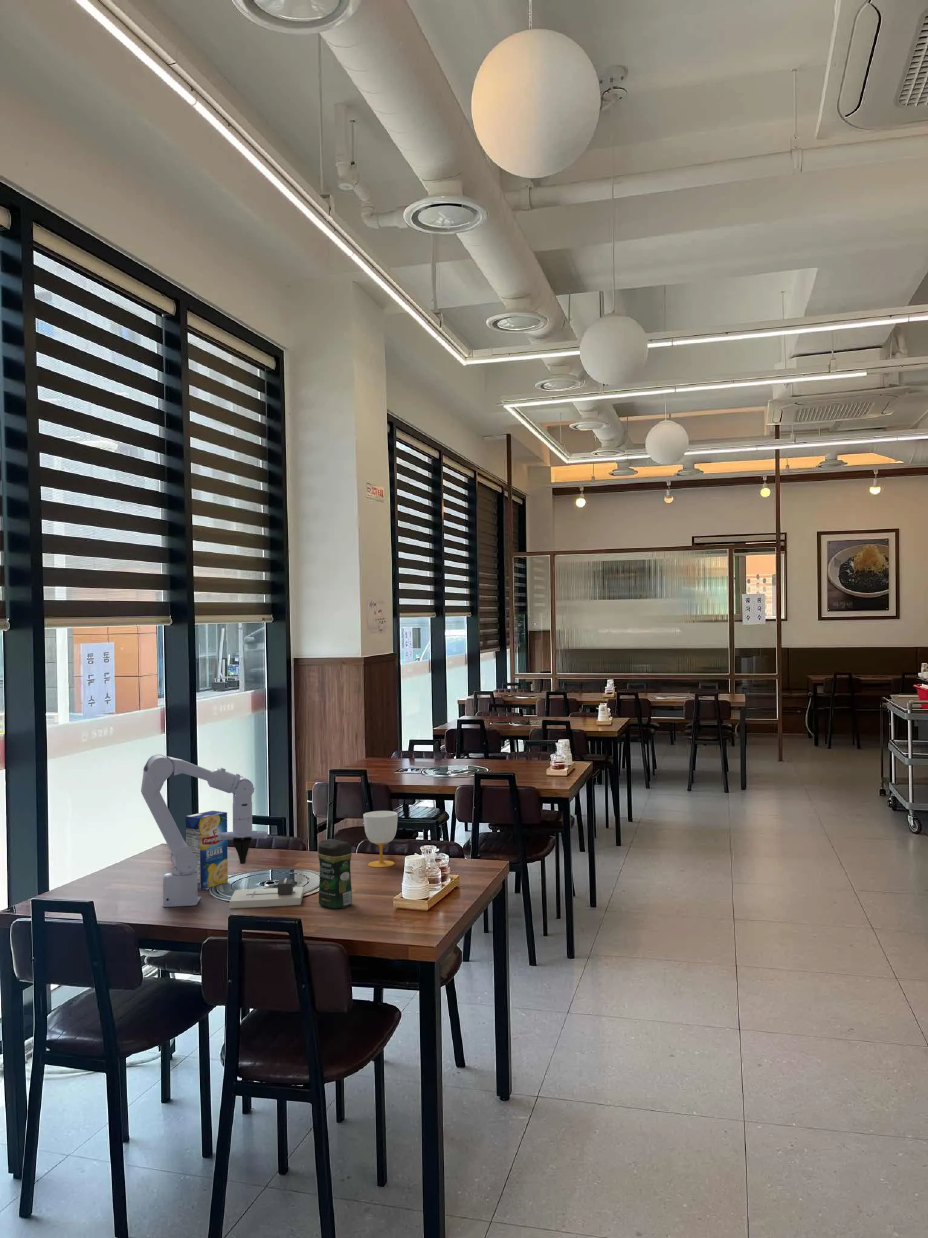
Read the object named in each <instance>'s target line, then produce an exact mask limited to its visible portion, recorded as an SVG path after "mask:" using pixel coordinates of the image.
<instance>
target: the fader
mask: <svg viewBox="0 0 928 1238" xmlns="http://www.w3.org/2000/svg"><path fill="white" fill-rule="evenodd" d="M277 882H278V883H277V888H278V895H280V894H292V891H293V887H294V878H293V879H292V878H290V879H289V878H287V877H285V878H284V879H279V880H278V881H277Z"/></svg>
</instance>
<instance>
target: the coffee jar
mask: <svg viewBox="0 0 928 1238" xmlns="http://www.w3.org/2000/svg"><path fill="white" fill-rule="evenodd" d="M317 849H318V851H317V857H318V860H319V861H318V863H319V886H318V904H319V905H320V906H322V907H326V908H328V909H329V908H330V909H333V910H334V909H335V910H336V909H344V908H347V907H349V906H351V904H353V888H352V877H351V876H352V875H351V872H352V871H351V860H352V856H353V852H352V844H351V843H349V842H348V841H343V840H338V839H334V838H329V839H322V840H321V841H320V842H319V844H318V848H317Z"/></svg>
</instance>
